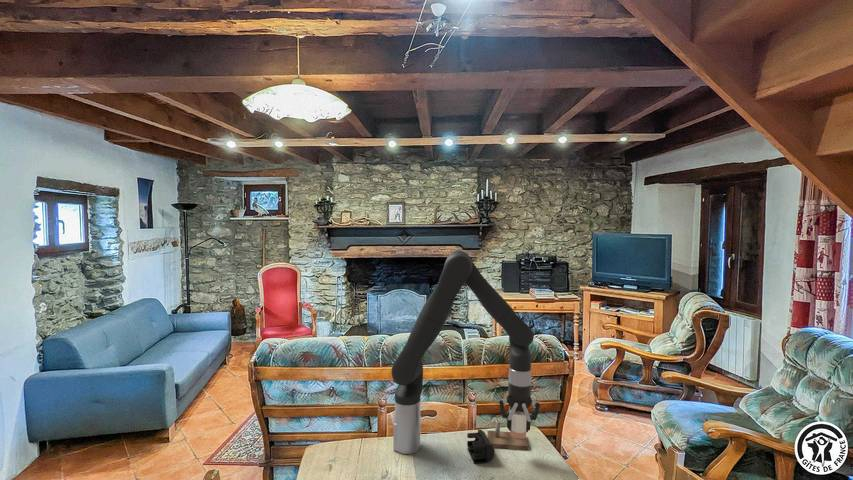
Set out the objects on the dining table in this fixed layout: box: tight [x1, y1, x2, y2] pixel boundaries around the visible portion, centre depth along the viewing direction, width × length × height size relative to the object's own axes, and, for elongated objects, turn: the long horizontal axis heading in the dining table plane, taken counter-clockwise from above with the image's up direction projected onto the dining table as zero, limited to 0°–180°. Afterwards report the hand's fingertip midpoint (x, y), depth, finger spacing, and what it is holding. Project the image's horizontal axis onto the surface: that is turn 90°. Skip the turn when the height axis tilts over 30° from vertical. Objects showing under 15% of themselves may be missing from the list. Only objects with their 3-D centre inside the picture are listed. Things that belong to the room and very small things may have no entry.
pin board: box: [487, 420, 529, 451], centre depth 145 cm, size 14×9×7 cm, turn 83°
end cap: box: [466, 429, 496, 465], centre depth 136 cm, size 10×7×7 cm
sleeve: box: [509, 411, 527, 439], centre depth 134 cm, size 5×5×8 cm
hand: (518, 429), depth 134 cm, fingers closed on sleeve, 5 cm apart
